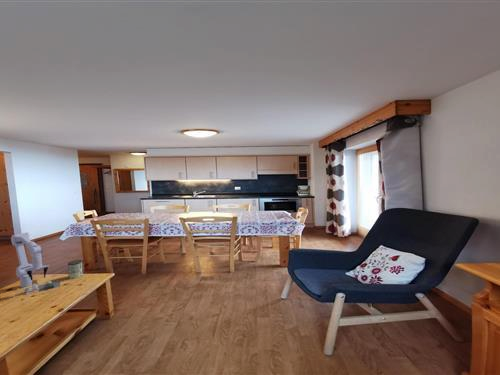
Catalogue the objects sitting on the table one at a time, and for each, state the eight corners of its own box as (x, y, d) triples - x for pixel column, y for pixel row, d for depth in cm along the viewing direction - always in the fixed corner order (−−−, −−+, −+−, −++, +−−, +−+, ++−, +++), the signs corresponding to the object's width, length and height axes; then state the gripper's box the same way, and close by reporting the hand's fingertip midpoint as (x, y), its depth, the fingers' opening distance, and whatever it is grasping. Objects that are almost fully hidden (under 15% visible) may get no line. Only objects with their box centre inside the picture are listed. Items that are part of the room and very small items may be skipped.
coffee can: (66, 278, 214) (65, 262, 214) (80, 274, 223) (79, 259, 222) (71, 280, 208) (70, 264, 208) (84, 276, 217) (83, 261, 216)
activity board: (25, 289, 194) (25, 288, 194) (60, 281, 208) (60, 280, 208) (23, 296, 183) (23, 295, 183) (60, 287, 196) (60, 286, 196)
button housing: (44, 287, 195) (44, 284, 195) (54, 285, 198) (53, 282, 198) (44, 290, 190) (43, 287, 190) (53, 288, 194) (53, 285, 194)
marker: (32, 290, 190) (31, 280, 190) (38, 289, 192) (37, 279, 192) (32, 291, 188) (31, 281, 187) (37, 290, 190) (36, 280, 189)
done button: (46, 283, 194) (45, 281, 194) (51, 282, 197) (51, 280, 197) (45, 285, 192) (45, 283, 191) (51, 283, 194) (51, 281, 194)
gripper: (23, 265, 182) (25, 283, 183) (48, 260, 191) (50, 277, 192) (24, 263, 188) (26, 280, 189) (49, 258, 197) (50, 274, 198)
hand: (38, 278), depth 191 cm, fingers open, 7 cm apart
